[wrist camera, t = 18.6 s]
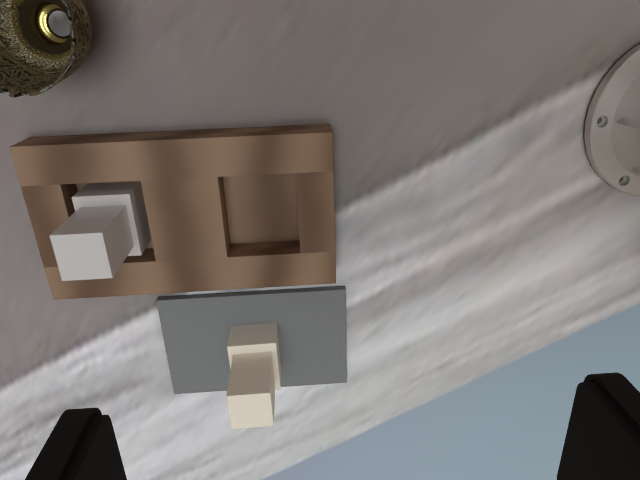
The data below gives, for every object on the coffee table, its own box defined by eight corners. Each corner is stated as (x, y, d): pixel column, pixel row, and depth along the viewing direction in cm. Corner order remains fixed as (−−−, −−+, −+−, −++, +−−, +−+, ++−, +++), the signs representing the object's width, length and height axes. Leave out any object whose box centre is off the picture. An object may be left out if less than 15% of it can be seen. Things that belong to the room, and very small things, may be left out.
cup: (86, 102, 36) (35, 124, 29) (-16, 35, 34) (-99, 41, 26) (137, 11, 34) (96, 10, 26) (32, -66, 32) (-44, -91, 24)
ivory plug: (276, 322, 44) (274, 383, 36) (280, 367, 46) (279, 433, 38) (230, 325, 44) (219, 387, 36) (237, 370, 46) (227, 437, 38)
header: (329, 123, 38) (332, 132, 35) (332, 266, 42) (335, 283, 40) (30, 137, 37) (9, 146, 34) (68, 281, 42) (53, 299, 39)
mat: (344, 286, 43) (345, 289, 43) (345, 378, 47) (346, 382, 47) (158, 297, 43) (156, 300, 42) (175, 389, 47) (174, 393, 46)
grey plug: (140, 181, 38) (106, 220, 31) (151, 238, 40) (121, 288, 33) (87, 183, 38) (39, 223, 31) (100, 241, 40) (58, 292, 32)
